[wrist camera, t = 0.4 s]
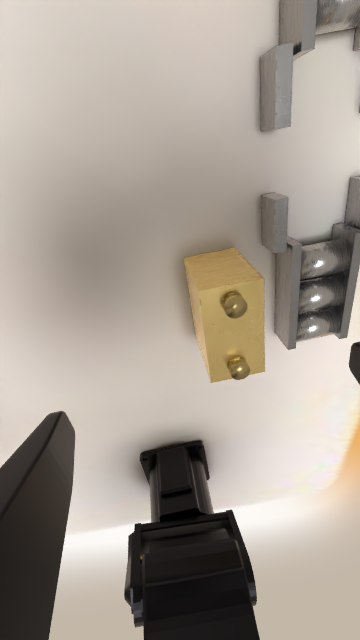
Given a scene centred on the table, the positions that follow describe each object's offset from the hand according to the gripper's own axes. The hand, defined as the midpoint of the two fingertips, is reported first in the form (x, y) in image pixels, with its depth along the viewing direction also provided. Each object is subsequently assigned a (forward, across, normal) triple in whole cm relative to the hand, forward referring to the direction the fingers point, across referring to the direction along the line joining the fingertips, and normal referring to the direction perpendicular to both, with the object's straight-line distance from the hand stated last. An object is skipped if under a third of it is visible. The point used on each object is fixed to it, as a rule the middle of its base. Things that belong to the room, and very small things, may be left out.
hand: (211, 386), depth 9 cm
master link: (+13, -3, +3) cm, 13 cm away
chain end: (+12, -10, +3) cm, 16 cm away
